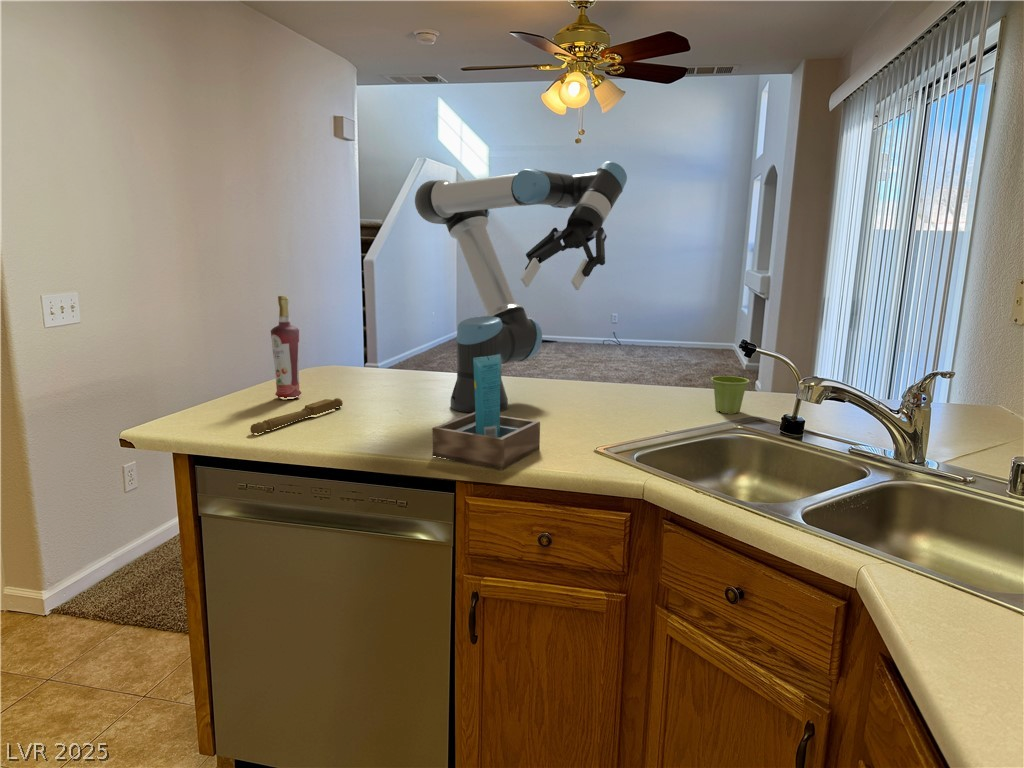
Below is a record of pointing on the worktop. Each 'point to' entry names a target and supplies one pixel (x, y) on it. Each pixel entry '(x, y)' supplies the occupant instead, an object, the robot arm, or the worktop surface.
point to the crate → (486, 442)
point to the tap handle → (296, 415)
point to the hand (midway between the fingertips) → (548, 284)
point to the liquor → (286, 353)
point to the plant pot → (729, 393)
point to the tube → (487, 394)
